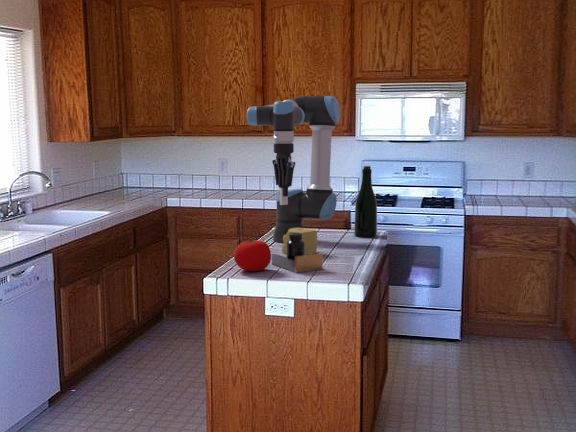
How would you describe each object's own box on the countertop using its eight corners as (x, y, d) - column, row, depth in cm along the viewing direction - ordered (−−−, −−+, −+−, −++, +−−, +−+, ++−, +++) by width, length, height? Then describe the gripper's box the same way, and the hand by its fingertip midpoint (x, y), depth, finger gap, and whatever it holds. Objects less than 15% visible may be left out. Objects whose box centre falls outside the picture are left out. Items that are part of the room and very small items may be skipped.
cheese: (281, 253, 281) (281, 229, 280) (299, 250, 289) (299, 226, 287) (300, 257, 274) (300, 232, 273) (318, 253, 282) (318, 229, 280)
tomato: (274, 273, 246) (274, 242, 244) (236, 275, 243) (235, 243, 241) (267, 266, 258) (267, 236, 256) (231, 267, 255) (231, 237, 253)
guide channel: (271, 264, 260) (271, 248, 260) (297, 261, 267) (297, 245, 266) (296, 273, 246) (296, 256, 245) (322, 269, 252) (322, 253, 251)
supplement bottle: (284, 264, 259) (283, 232, 257) (300, 262, 262) (300, 231, 260) (290, 267, 253) (290, 235, 251) (307, 266, 255) (307, 234, 253)
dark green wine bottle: (379, 237, 318) (381, 166, 313) (358, 238, 316) (359, 167, 311) (372, 233, 328) (373, 165, 323) (351, 234, 326) (352, 165, 321)
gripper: (266, 142, 261) (266, 203, 265) (284, 143, 250) (284, 207, 254) (282, 141, 265) (283, 201, 269) (301, 143, 254) (301, 205, 258)
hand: (283, 204), depth 261 cm, fingers closed
